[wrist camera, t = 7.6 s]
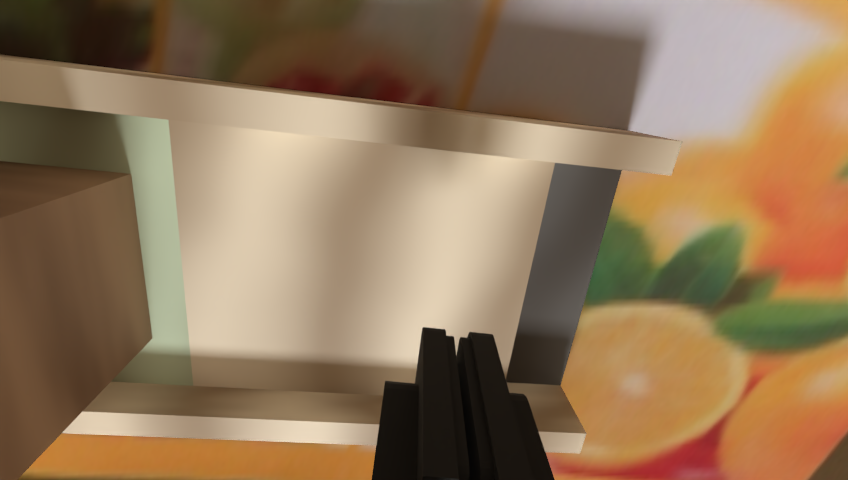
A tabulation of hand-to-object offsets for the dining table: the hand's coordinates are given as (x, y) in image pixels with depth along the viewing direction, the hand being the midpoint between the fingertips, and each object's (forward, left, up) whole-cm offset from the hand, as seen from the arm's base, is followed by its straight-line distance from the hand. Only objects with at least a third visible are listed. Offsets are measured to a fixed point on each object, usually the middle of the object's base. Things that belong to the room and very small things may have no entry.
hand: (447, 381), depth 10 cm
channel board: (+7, 0, -7) cm, 10 cm away
